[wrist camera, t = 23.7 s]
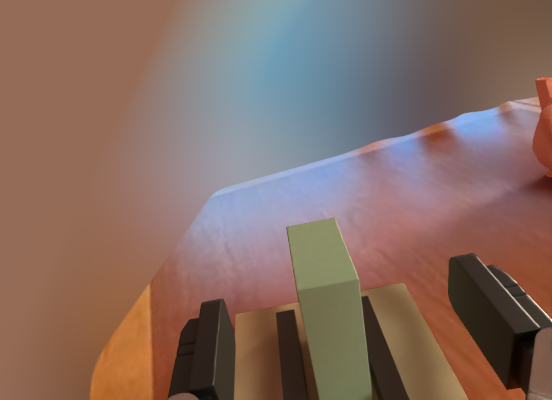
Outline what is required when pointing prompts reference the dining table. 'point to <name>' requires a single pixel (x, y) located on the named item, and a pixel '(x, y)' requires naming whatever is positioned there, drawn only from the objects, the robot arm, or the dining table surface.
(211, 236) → the dining table surface
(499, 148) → the dining table surface
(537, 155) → the teapot
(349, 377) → the green rectangular block
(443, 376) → the seat base
